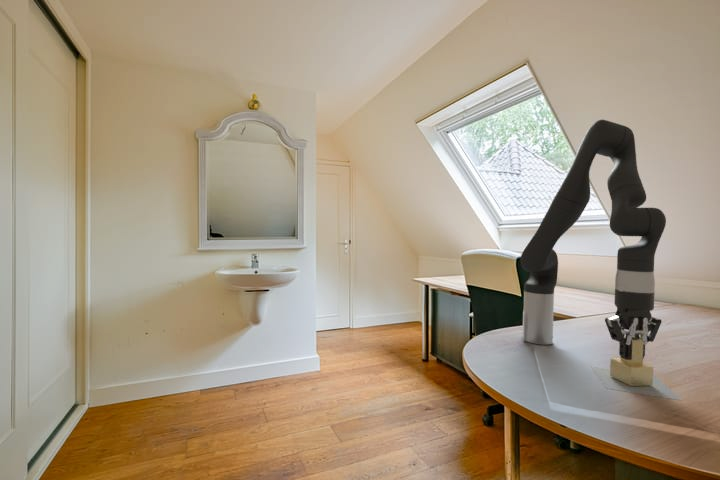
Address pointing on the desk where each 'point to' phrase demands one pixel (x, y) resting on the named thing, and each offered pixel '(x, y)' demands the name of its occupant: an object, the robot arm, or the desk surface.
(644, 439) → the desk surface
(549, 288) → the robot arm
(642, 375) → the cream stepped block
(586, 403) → the desk surface
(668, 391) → the thin grey square mat
